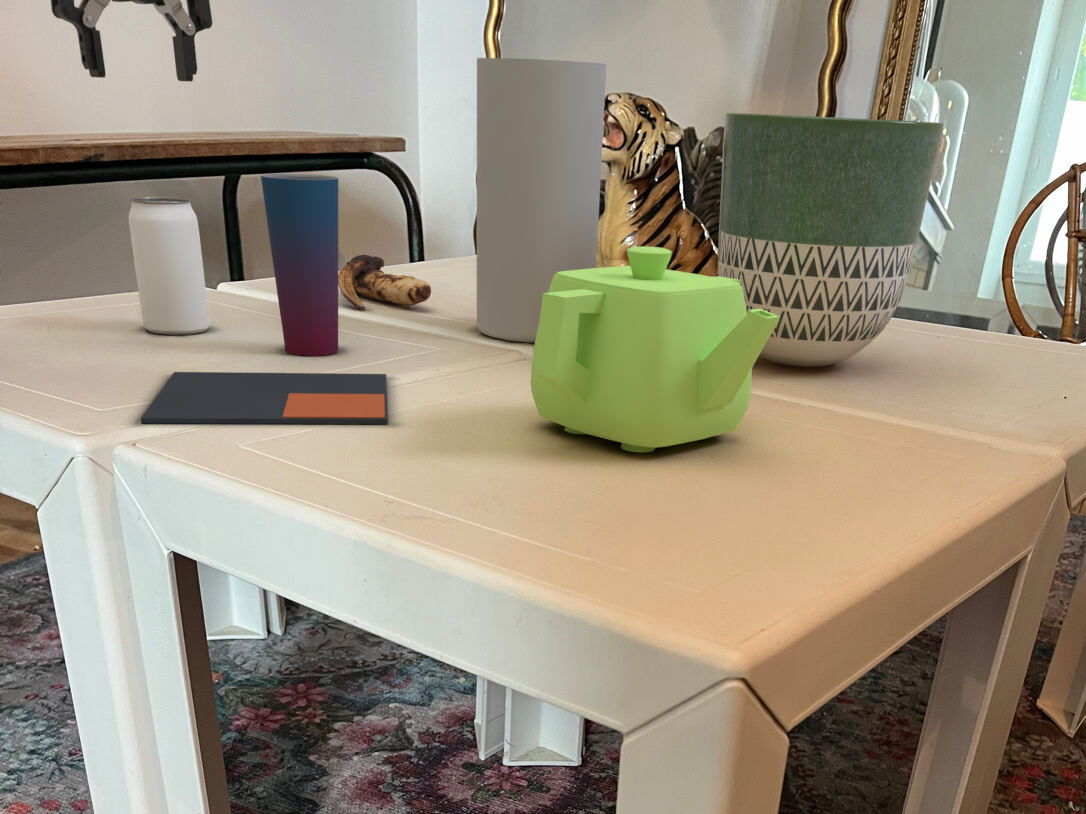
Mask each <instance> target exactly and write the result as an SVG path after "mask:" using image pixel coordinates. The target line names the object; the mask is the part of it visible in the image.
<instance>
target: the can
mask: <svg viewBox="0 0 1086 814" xmlns="http://www.w3.org/2000/svg"><path fill="white" fill-rule="evenodd" d="M129 201H130V202H131V206H130V209H129V213H128V226H129V233H130V241H131V248H132V257H133V263H134V271H135V277H136V285H137V292H138V298H139V299H138V300H139V305H140V313H141V319H142V320H141V321H142V325H143V327H144V329H146V331H147V332H149V333H152V334H156V335H167V336H185V335H196V334H201V333H204V332H206V331H207V330H208V328H209V327H210V317H209V309H208V308H209V307H208V297H207V290H206V289H207V288H206V279H205V271H204V262H203V254H202V245H201V244H202V243H201V236H200V228H199V220H198V217H197V214H196V213H195V211H194V209H193V207H192V204H191V203H192V199H189V198H182V197H168V196H167V197H166V196H163V197H162V196H143V197H141V196H140V197H132V198H130V200H129Z"/></svg>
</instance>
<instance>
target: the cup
mask: <svg viewBox="0 0 1086 814" xmlns="http://www.w3.org/2000/svg"><path fill="white" fill-rule="evenodd" d="M260 181H261V186H262V188H261V189H262V194H263V200H264V208H265V215H266V223H267V229H268V237H269V244H270V251H271V259H272V264H273V265H272V266H273V273H274V279H275V280H274V281H275V286H276V287H275V288H276V294H277V301H278V307H279V309H278V310H279V313H280V314H279V315H280V316H279V317H280V321H281V329H282V336H283V345H284V350H285V352H286V353H287V354H291V355H295V356H303V357H320V356H329V355H334V354H336V353H338V352H339V285H338V275H339V177H337V176H333V175H323V174H308V173H307V174H305V173H267V174H261V175H260Z"/></svg>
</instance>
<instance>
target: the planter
mask: <svg viewBox="0 0 1086 814" xmlns="http://www.w3.org/2000/svg"><path fill="white" fill-rule="evenodd" d="M944 126H945V124H944V123H943V122H936V121H935V122H934V121H933V122H931V121H917V120H916V121H915V120H914V121H912V120H897V119H896V120H895V119H894V120H893V119H876V118H875V119H873V118H856V117H855V118H853V117H852V118H851V117H835V116H833V117H831V116H811V115H810V116H809V115H789V114H787V115H786V114H768V113H767V114H764V113H743V112H737V113H736V112H726V113H725V115H724V127H723V141H722V161H721V163H722V165H721V167H722V168H721V183H720V185H721V186H720V203H719V225H718V246H717V247H718V248H717V276H720V277H726V278H732V279H738V280H740V286H742V289H743V293H744V298H745V304H746V311H748V310H753V309H762V310H765V311H767V312H770V313H772V314H775V315H777V316H780V319H779V322H778V324H777V325H776V327H775V329H774V331H773V332H772V334H771V336H770V337H769V339H768V341H767V343H766V344H765V346H764V348H763V349H762V351H761V353H760V355H759V356H758V357H761V358H763V359H765V360H767V361H769V362H772V363H776V364H779V365H783V366H789V367H797V368H819V367H828V366H833V365H836V364H839V363H841V362H844V361H846V360H848V359H850V358H852V357H853V356H855V355H857V354H858V353H859V352H861V351H862V350H863V349H865V348H867V346H869V345H870V344H871V343H872V342H873V341H874V340H875V339H876V338H878V336H879V335H880V334H881V332H883V330H884V329H885V328H886V327H887V325H888V324H889V323H890V321H891V319H892V317H893V315H894V314H895V312H896V310H897V308H898V305H899V303H900V301H901V298H902V297H903V294H904V291H905V289H906V286H907V283H908V279H909V277H910V276H909V275H910V273H911V268H912V264H913V260H914V255H915V252H916V248H917V243H918V239H919V235H920V231H921V227H922V223H923V219H924V214H925V211H926V210H925V209H926V205H927V200H928V196H929V192H930V187H931V183H932V179H933V176H934V171H935V167H936V164H937V159H938V154H939V150H940V145H941V140H942V137H943V131H944Z"/></svg>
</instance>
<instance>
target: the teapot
mask: <svg viewBox="0 0 1086 814" xmlns="http://www.w3.org/2000/svg"><path fill="white" fill-rule="evenodd" d="M626 253H627V258H628V262H629V265H621V266H619V265H618V266H605V267H596V268H591V269H579V270H569V271H560V272H557V273H556V274H555V275H554V277H553V279H552V282H551V285H550V288H549V291H548V293H543V297H542V305H541V313H540V321H539V326H538V330H537V335H536V340H535V343H534V347H533V352H532V361H531V371H530V389H531V390H530V391H531V394H532V398H533V401H534V404H535V407H536V410H537V412H538V414H539V416H541V417H542V418H543V419H546V420H548V421H550V422H553V423H556V424H557V425H561V426H563V427H564V428H563V431H565V432H567V433H570V434H575V435H590V436H594V437H598V438H601V439H606V440H609V441H613V442H618V443H621V445H620V448H621V449H622V450H624V451H627V452H630V453H631V452H633V453H649V452H650V453H651V452H653V451H655V450H656V448H664V447H671V446H676V445H680V444H685V443H691V442H696V441H699V440H700V441H701V440H706V439H708V438H712V437H716V436H719V435H723V434H727V433H730V432H733V431H735V430H737V429H738V428H739V426H740V424H741V422H742V420H743V418H744V417H745V414H746V412H747V410H748V408H749V404H750V400H751V393H752V392H751V391H752V373H753V369H752V368H753V367H754V365H755V363H756V361H757V360H758V358H759V357H760V356H759V355H760V353H761V351H762V349H763V348H764V346H765V344H766V343H767V341H768V339H769V337H770V336H771V334H772V332H773V331H774V329H775V327H776V325H777V324H778V322H779V319H780V316H777V315H775V314H772V313H770V312H767V311H765V310H762V309H753V310H748V311H746V304H745V298H744V293H743V289H742V286H740V280H738V279H732V278H726V277H720V276H718V275H717V276H709V275H704V274H699V273H698V274H697V273H692V272H687V271H686V272H685V271H680V270H673V269H667V268H668V265H669V263H670V261H671V258H672V254H673V251H672V250H670V249H669V248H665V247H659V246H631V247H629V248H627V249H626Z"/></svg>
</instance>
